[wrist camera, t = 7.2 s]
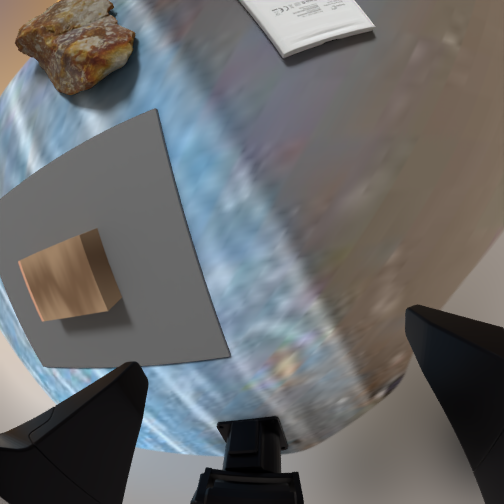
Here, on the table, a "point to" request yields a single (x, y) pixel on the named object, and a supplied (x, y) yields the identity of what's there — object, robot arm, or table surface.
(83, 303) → the walnut slab
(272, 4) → the external hard drive
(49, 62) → the decorative stone
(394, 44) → the table surface
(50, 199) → the rubber mat
